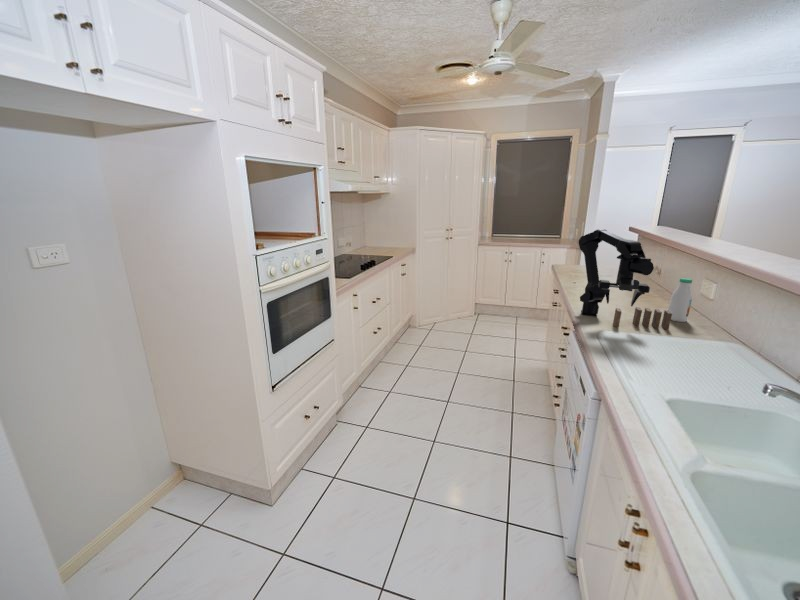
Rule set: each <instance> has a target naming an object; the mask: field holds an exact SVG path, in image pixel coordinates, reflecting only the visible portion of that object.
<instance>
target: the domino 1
mask: <svg viewBox="0 0 800 600" xmlns="http://www.w3.org/2000/svg"><path fill="white" fill-rule="evenodd" d="M622 313H623V312H622V310H621V308H619V307H618V308H617V307H616V308H615V311H614V315H613V320H612V321H613V322H612V325H613V327H614V328H619V327H620V322H621V318H622Z"/></svg>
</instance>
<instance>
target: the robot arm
mask: <svg viewBox="0 0 800 600" xmlns="http://www.w3.org/2000/svg"><path fill="white" fill-rule="evenodd" d="M602 242H605V243H606V244H609V245H611V247H615V248H616V251H617V252H618V253H619V254H620V255H617V256H616V259H618V260H619V266H618V271H617V276H616V282H611V281H610V280H607V279H606V280H605V279H600V277H599V275H600V274H599V268H598V261H597V251H598V248H599V244H600V243H602ZM578 246H579V249H580V252H582V253H583V255H584V264H585V270H586V271H585V272H586V277H587V282H586V283H587V284H586V286H585V287H584V293H583V294H582V295H580V296H579V299H580V302H582V307H581V310H580V311H581V315H583V316H590V317H591V316H592V317H597V315H598V313H599V310H600V309H599V308H600V307H599V304H600V303H602V302H603V300H604V298H605V299H606V304H607V305H609V303H610V291H611V290H610V289H611V288H617V289H618V290H620V291H628V292H632V291H633V290H634V291H633V295H632V297H631V302H630V306H631V307H633V306H634V305H635V303H636V302H637V300H638V299H639V297H641V296H642V295H645V294H649V293H650V290H651V288H650V286H649V285H648V284H647V283H642V282H641V281H640V279H634V273H635V274H639V275H642V276H650V275H651V274H652V273H653V272H654V268H655V267H654V264H653V262H652V258H649V257H647V258H646V254H645V252H644V250H643V247H642V242H640V241H638V240H633V239H626V238H623V237H621V236H619V235H616V234H615V233H613V232H610V231H608V230H607V229H601V228H600V229H599V228H598V229H595V230H594V231H592V232H590V233H586V234H584V235H582V236H580V237H579V239H578ZM640 282H641V283H640Z"/></svg>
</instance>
